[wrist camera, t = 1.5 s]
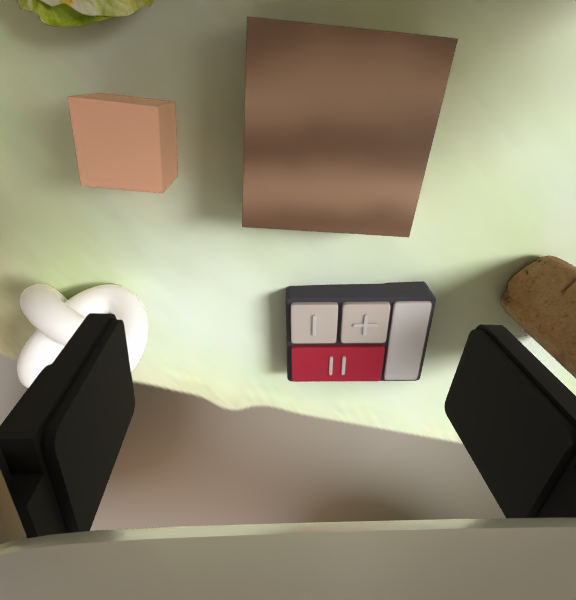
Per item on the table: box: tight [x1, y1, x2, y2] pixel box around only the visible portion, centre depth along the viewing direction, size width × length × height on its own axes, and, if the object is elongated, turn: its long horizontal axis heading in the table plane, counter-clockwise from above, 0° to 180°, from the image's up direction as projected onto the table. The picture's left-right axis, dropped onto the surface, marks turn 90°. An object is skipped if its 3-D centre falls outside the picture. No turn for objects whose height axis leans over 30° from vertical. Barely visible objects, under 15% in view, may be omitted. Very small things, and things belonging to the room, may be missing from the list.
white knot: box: [17, 284, 148, 388], centre depth 38 cm, size 11×12×9 cm
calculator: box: [286, 282, 436, 382], centre depth 43 cm, size 11×4×15 cm
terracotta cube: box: [68, 93, 178, 193], centre depth 31 cm, size 6×6×6 cm
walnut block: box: [242, 17, 458, 237], centre depth 32 cm, size 14×14×6 cm
